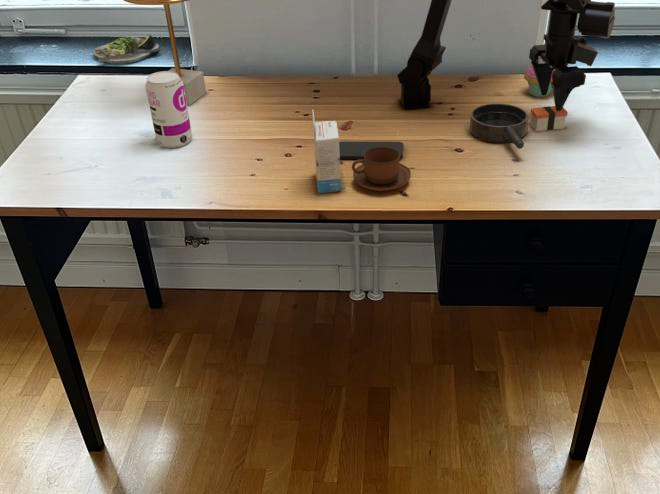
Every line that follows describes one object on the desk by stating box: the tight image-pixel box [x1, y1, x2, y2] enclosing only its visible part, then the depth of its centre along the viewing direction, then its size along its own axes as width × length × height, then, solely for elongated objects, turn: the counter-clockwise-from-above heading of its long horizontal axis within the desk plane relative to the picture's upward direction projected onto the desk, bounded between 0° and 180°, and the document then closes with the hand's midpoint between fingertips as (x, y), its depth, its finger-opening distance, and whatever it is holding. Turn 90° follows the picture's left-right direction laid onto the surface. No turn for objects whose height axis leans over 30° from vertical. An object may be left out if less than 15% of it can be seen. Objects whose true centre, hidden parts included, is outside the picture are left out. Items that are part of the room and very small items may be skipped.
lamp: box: [123, 0, 207, 106], centre depth 187 cm, size 21×21×41 cm
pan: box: [468, 103, 529, 144], centre depth 178 cm, size 13×13×4 cm
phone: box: [339, 141, 404, 160], centre depth 173 cm, size 7×1×15 cm
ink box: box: [311, 108, 342, 194], centre depth 158 cm, size 9×5×15 cm, turn 5°
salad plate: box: [92, 33, 163, 65], centre depth 222 cm, size 19×18×5 cm
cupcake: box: [523, 65, 555, 98], centre depth 192 cm, size 9×8×12 cm
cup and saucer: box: [351, 147, 412, 192], centre depth 160 cm, size 12×12×6 cm
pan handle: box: [505, 127, 525, 150], centre depth 169 cm, size 9×2×2 cm, turn 10°
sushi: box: [529, 105, 569, 132], centre depth 180 cm, size 7×4×4 cm, turn 100°
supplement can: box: [145, 70, 193, 149], centre depth 175 cm, size 8×8×15 cm
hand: (551, 102), depth 177 cm, fingers open, 9 cm apart
